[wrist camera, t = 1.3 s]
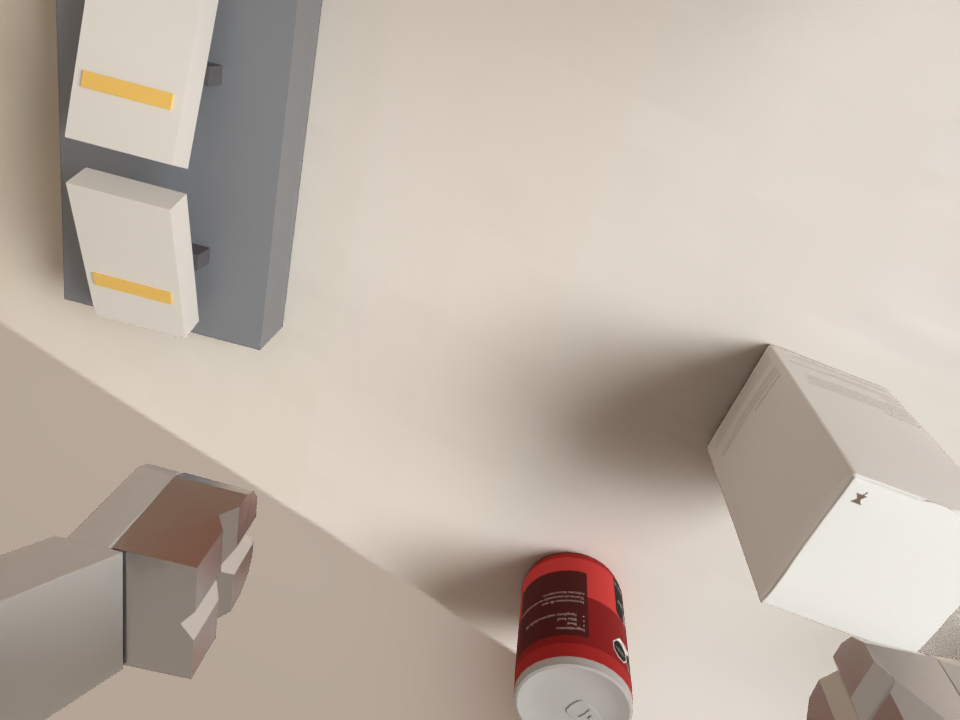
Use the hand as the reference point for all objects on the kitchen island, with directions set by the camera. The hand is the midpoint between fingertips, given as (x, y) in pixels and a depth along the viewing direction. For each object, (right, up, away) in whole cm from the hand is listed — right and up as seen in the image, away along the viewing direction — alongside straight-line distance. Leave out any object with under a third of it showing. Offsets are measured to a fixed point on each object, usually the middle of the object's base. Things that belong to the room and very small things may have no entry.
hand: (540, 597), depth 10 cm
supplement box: (+21, -1, +38) cm, 43 cm away
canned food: (+7, -15, +46) cm, 49 cm away
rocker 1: (-18, +18, +26) cm, 37 cm away
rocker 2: (-20, +9, +31) cm, 38 cm away
